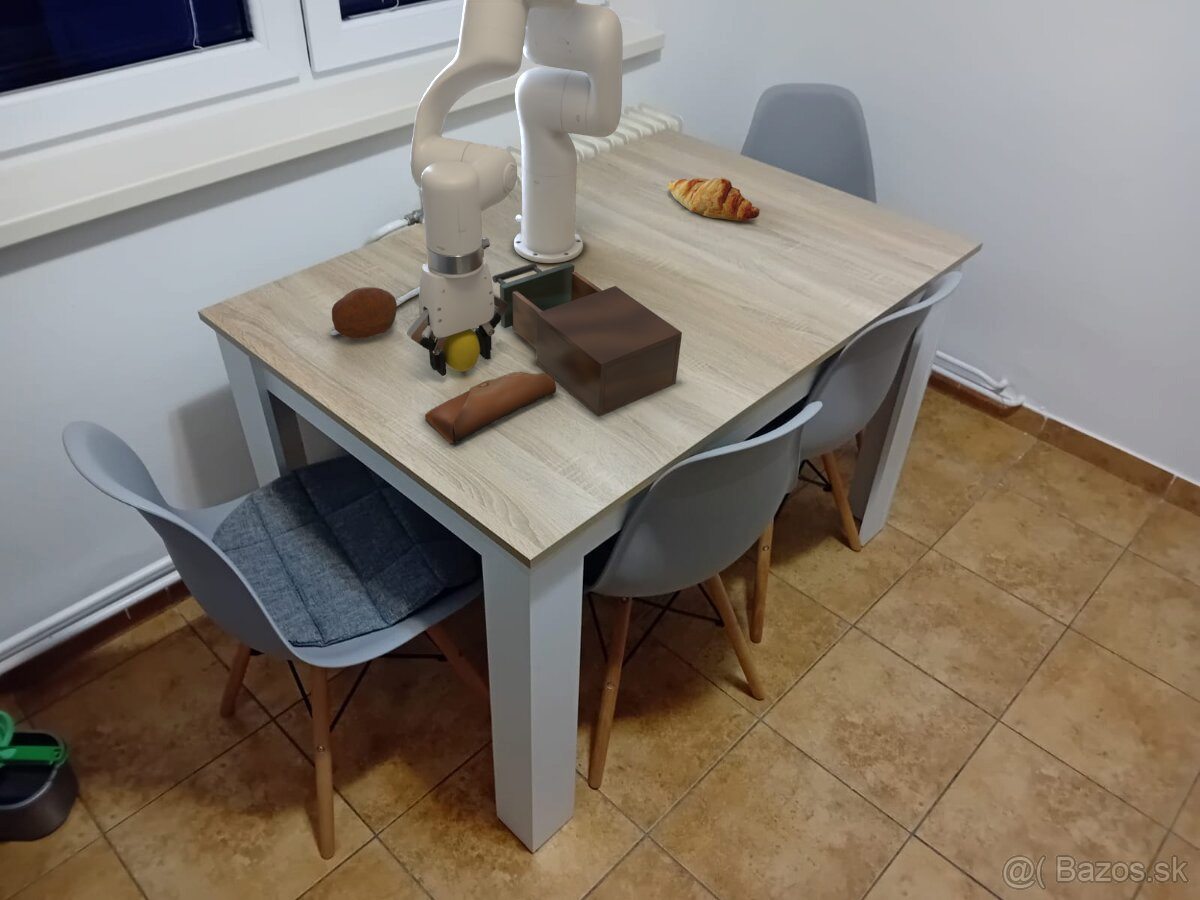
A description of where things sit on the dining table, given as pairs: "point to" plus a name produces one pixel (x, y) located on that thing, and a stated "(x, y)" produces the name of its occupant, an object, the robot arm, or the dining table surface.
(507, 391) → the sunglasses case
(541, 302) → the drawer
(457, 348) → the lemon
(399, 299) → the butter knife
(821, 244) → the dining table surface
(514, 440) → the dining table surface
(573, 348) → the cabinet
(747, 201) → the croissant
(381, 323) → the potato
